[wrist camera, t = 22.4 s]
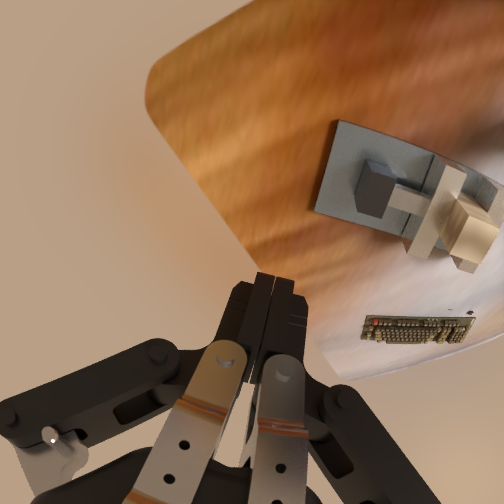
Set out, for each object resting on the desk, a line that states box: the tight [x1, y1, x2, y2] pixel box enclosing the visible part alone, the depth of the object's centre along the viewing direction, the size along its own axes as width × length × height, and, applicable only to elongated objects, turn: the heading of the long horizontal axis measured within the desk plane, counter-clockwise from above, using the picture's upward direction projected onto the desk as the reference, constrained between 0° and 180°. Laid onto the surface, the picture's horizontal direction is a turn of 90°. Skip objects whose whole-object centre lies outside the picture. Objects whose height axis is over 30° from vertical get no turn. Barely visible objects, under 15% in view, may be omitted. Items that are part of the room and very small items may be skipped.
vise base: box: [314, 119, 504, 274], centre depth 33 cm, size 12×25×5 cm, turn 81°
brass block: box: [440, 192, 500, 264], centre depth 30 cm, size 5×5×8 cm
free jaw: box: [354, 155, 467, 260], centre depth 32 cm, size 12×11×4 cm
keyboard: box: [361, 309, 476, 344], centre depth 47 cm, size 22×9×2 cm, turn 94°
